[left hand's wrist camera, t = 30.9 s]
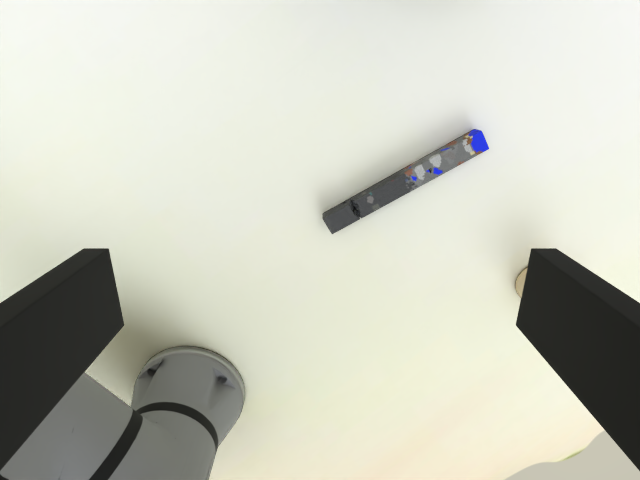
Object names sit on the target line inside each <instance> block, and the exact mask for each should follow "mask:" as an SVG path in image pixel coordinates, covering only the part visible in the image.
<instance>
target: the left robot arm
mask: <svg viewBox="0 0 640 480" xmlns="http://www.w3.org/2000/svg"><path fill="white" fill-rule="evenodd" d="M123 326H124V322H123V317H122V312H121V307H120V302H119V297H118V292H117V288H116V283H115V278H114V273H113V268H112V263H111V258H110V253H109V249H83V250H81V251H79V252H78V253H76V254H75V255H73V256H72V257H70V258H69V259H67V260H66V261H64V262H63V263H61V264H60V265H58V266H57V267H55V268H53V269H52V270H50V271H49V272H47V273H46V274H44V275H43V276H41V277H40V278H38V279H37V280H35V281H34V282H32V283H30V284H29V285H27V286H26V287H24V288H23V289H21V290H20V291H18V292H17V293H15V294H14V295H12V296H11V297H9V298H7V299H6V300H4V301H3V302H1V303H0V480H209V476H210V473H211V469H212V466H213V462H214V459H215V455H216V451H217V448H218V446H219V445H220V443H221V442H222V441H223V439H224V438H225V437H226V435H227V434H228V433H229V431H230V430H231V428H232V427H233V426H234V424H235V423H236V421H237V420H238V418H239V416H240V414H241V411H242V408H243V404H244V399H245V387H244V383H243V380H242V378H241V376H240V374H239V373H238V371H237V370H236V369H235V367H234V366H233V365H232V364H231V363H230V362H229V361H227V360H226V359H225V358H223V357H222V356H220V355H218V354H216V353H214V352H212V351H209V350H206V349H203V348H199V347H190V346H181V347H174V348H170V349H167V350H164V351H162V352H160V353H158V354H156V355H155V356H153V357H152V358H151V359H150V360H149V361H148V362H147V363H146V364H145V366H144V367H143V369H142V370H141V372H140V374H139V375H138V377H137V380H136V383H135V386H134V391H133V397H132V403H131V407H130V406H129V405H127V404H126V403H125V402H123V401H122V400H121V399H119V398H118V397H117V396H115V395H114V394H113V393H111V392H110V391H109V390H107V389H106V388H105V387H103V386H102V385H101V384H99V383H98V382H97V381H95V380H94V379H93V378H91V377H90V376H89V375H87V374H86V373H85V371H86V369H87V368H88V367H89V366H90V365H91V364H92V362H93V361H94V360H95V359H96V358H97V356H98V355H99V354H100V353H101V352H102V351H103V349H104V348H105V347H106V346H107V345H108V343H109V342H110V341H111V340H112V339H113V338H114V336H115V335H116V334H117V333H118V332H119V331H120V329H121V328H122V327H123ZM516 326H517V327H518V328H519V329H520V331H521V332H522V333H523V334H524V335H525V336H526V338H527V339H528V340H529V341H530V342H531V343H532V345H533V346H534V347H535V348H536V349H537V351H538V352H539V353H540V354H541V355H542V356H543V358H544V359H545V360H546V361H547V362H548V364H549V365H550V366H551V367H552V368H553V369H554V371H555V372H556V373H557V374H558V375H559V376H560V378H561V379H562V380H563V381H564V382H565V384H566V385H567V386H568V387H569V388H570V389H571V391H572V392H573V393H574V394H575V395H576V396H577V398H578V399H579V400H580V401H581V402H582V404H583V405H584V406H585V407H586V408H587V409H588V411H589V412H590V413H591V414H592V415H593V416H594V418H595V419H596V420H597V421H598V422H599V424H600V425H601V426H602V427H603V428H604V429H605V431H606V432H607V433H608V434H609V435H610V436H611V438H612V439H613V440H614V441H615V442H616V444H617V445H618V446H619V447H620V448H621V449H622V451H623V452H624V453H625V454H626V455H627V457H628V458H629V459H630V460H631V461H632V462H633V464H634V465H635V466H636V467H637V468H638V469H639V471H640V303H639V302H637V301H636V300H634V299H633V298H631V297H629V296H628V295H626V294H625V293H623V292H622V291H620V290H619V289H617V288H616V287H614V286H613V285H611V284H610V283H608V282H606V281H605V280H603V279H602V278H600V277H599V276H597V275H596V274H594V273H593V272H591V271H590V270H588V269H587V268H585V267H583V266H582V265H580V264H579V263H577V262H576V261H574V260H573V259H571V258H570V257H568V256H567V255H565V254H564V253H562V252H561V251H559V250H557V249H531V253H530V258H529V263H528V268H527V273H526V278H525V283H524V288H523V292H522V297H521V302H520V307H519V312H518V317H517V322H516Z"/></svg>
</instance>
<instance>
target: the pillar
mask: <svg viewBox="0 0 640 480" xmlns="http://www.w3.org/2000/svg"><path fill="white" fill-rule="evenodd" d="M488 149H489V147H488V145H487V142H486V140H485V138H484V135H483V133H482V131H480V130H476V129H474V130H472V131H470V132H468V133H466V134H465V135H463V136H461V137H459V138H457V139H456V140H454V141H452V142H450V143H448V144H447V145H445V146H443V147H441V148H439V149H438V150H436V151H434V152H432V153H431V154H429V155H427V156H425V157H423V158H422V159H420V160H418V161H416V162H414V163H413V164H411V165H409V166H407V167H405V168H404V169H402V170H400V171H398V172H396V173H395V174H393V175H391V176H389V177H387V178H386V179H384V180H382V181H380V182H379V183H377V184H375V185H373V186H371V187H370V188H368V189H366V190H364V191H362V192H361V193H359V194H357V195H355V196H353V197H352V198H350V199H348V200H346V201H344V202H343V203H341V204H339V205H337V206H335V207H334V208H332V209H330V210H328V211H327V212H325V213H323V220H324V222H325V223H326V225H327V227H328V228H329V230H330V232H331V233H332V234H333V233H335V232H337V231H339V230H341V229H343V228H344V227H346V226H348V225H350V224H352V223H354V222H355V221H357V220H359V219H360V218H359V217H361V218H363V217H365V216H366V215H368V214H370V213H372V212H374V211H376V210H377V209H379V208H381V207H383V206H385V205H387V204H388V203H390V202H392V201H394V200H396V199H398V198H400V197H401V196H403V195H405V194H407V193H409V192H411V191H412V190H414V189H416V188H418V187H420V186H422V185H423V184H425V183H427V182H429V181H431V180H433V179H434V178H436V177H438V176H440V175H442V174H444V173H445V172H447V171H449V170H451V169H453V168H455V167H456V166H458V165H460V164H462V163H464V162H466V161H467V160H469V159H471V158H473V157H475V156H477V155H479V154H480V153H482V152H484V151H486V150H488ZM357 209H358V210H357Z"/></svg>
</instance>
